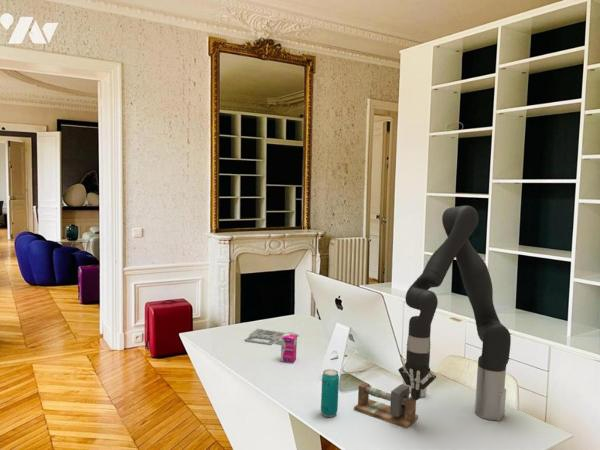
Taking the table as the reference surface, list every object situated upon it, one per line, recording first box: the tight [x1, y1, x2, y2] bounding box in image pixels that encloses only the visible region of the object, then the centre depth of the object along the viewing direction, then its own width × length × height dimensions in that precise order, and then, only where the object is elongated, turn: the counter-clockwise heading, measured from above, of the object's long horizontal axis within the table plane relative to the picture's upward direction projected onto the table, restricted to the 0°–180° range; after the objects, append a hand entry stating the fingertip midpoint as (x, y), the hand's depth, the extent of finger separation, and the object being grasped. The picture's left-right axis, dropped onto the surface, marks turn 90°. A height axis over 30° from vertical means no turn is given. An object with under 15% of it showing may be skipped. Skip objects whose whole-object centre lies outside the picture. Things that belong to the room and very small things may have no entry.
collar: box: [389, 383, 410, 417], centre depth 169 cm, size 3×8×8 cm, turn 143°
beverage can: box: [320, 368, 340, 418], centre depth 170 cm, size 6×6×15 cm
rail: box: [353, 382, 419, 429], centre depth 172 cm, size 20×9×8 cm, turn 53°
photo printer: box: [402, 360, 428, 398], centre depth 191 cm, size 10×4×12 cm, turn 29°
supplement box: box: [280, 334, 298, 364], centre depth 220 cm, size 6×6×12 cm
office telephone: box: [244, 328, 300, 346], centre depth 251 cm, size 23×3×20 cm
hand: (415, 399), depth 165 cm, fingers closed
